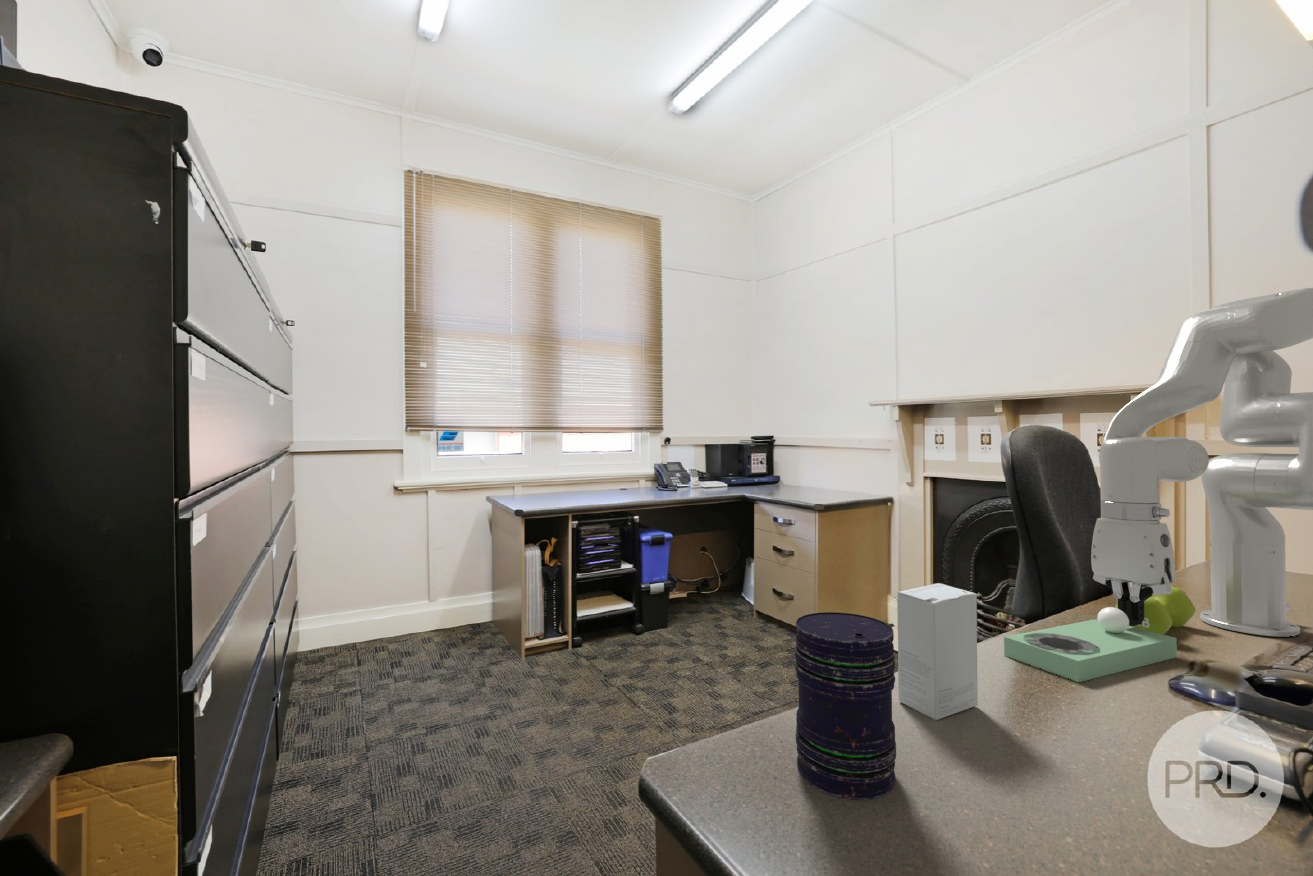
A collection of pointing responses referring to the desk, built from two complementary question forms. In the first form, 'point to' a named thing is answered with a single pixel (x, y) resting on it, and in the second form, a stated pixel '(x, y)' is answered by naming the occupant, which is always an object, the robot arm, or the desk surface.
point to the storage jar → (845, 704)
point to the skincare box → (937, 649)
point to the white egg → (1113, 620)
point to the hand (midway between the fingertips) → (1131, 623)
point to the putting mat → (1089, 649)
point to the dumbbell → (1166, 611)
